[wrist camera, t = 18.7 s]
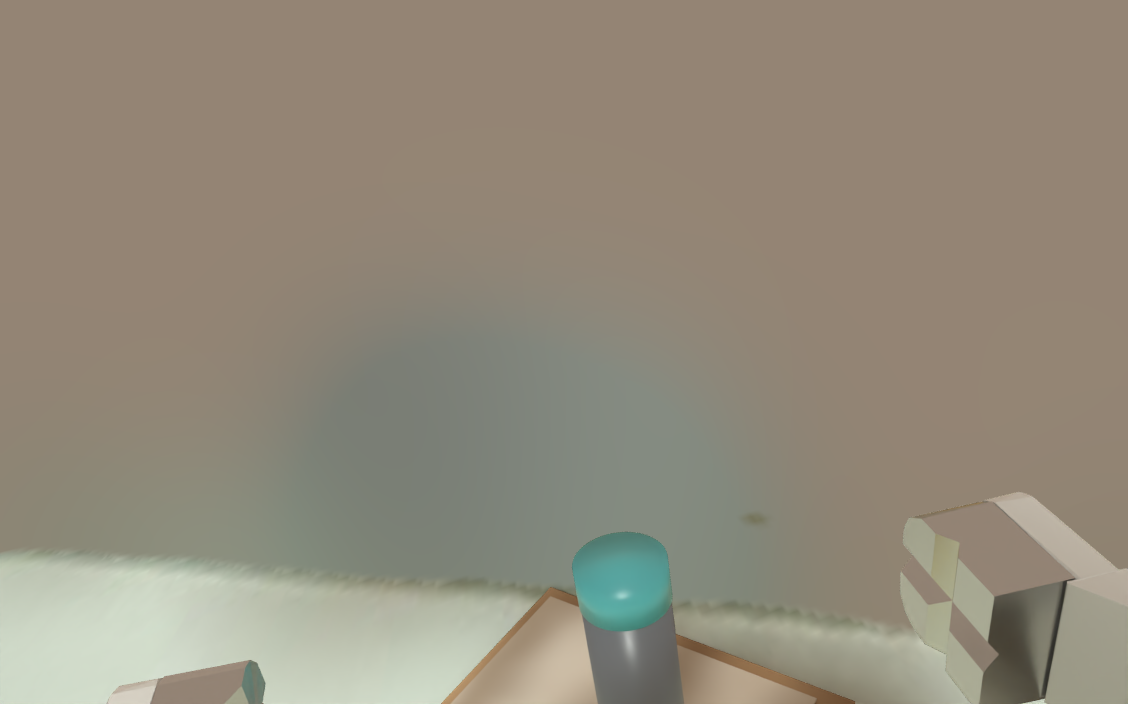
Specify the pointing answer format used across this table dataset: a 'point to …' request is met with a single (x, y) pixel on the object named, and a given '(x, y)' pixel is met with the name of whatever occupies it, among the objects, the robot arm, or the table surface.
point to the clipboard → (564, 676)
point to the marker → (629, 619)
